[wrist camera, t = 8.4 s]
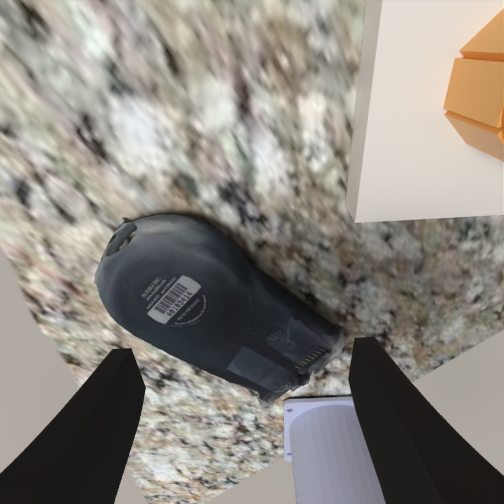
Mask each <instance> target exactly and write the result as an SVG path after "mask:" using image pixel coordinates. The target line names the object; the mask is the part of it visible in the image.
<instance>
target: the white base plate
mask: <svg viewBox="0 0 504 504" xmlns="http://www.w3.org/2000/svg"><path fill="white" fill-rule="evenodd" d="M503 8H504V0H366V8H365V18H364V28H363V37H362V47H361V57H360V67H359V77H358V86H357V96H356V106H355V116H354V125H353V135H352V145H351V155H350V165H349V174H348V184H347V194H346V204H345V206H346V208H347V210H348V211H349V213H350V215H351V217H352V218H353V220H354V222H355V223H361V222H379V221H398V220H416V219H434V218H453V217H471V216H489V215H504V162H503V161H501V160H499V159H497V158H495V157H493V156H491V155H489V154H487V153H485V152H482V151H480V150H478V149H476V148H474V147H472V146H470V145H468V144H466V143H465V141H464V140H463V139H462V137H461V136H460V135H459V133H458V132H457V131H456V130H455V128H454V127H453V126H452V124H451V123H450V122H449V120H448V119H447V118H446V116H445V115H444V114H445V113H446V112H447V111H448V110H446V109H443V106H444V102H445V98H446V94H447V89H448V85H449V81H450V77H451V72H452V68H453V64H454V59H455V58H462V57H463V56H462V54H461V53H460V51H459V50H460V49H461V48H462V47H464V46H465V45H466V44H467V43H468V42H469V41H470V40H471V39H472V38H473V37H474V36H475V35H476V34H477V33H478V32H479V31H480V30H481V29H482V28H483V27H484V26H485V25H487V24H488V23H489V22H490V21H491V20H492V19H493V18H494V17H495V16H496V15H497V14H498V13H499V12H500V11H501V10H502V9H503Z"/></svg>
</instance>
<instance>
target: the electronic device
mask: <svg viewBox="0 0 504 504" xmlns="http://www.w3.org/2000/svg"><path fill="white" fill-rule="evenodd" d="M124 222H125V221H124V220H123V218H121V221H120V223H119V227H118V229H117V230H116V232H115V233H114V235H113V236H112V238H111V240H110V241H109V243H108V245H107V248H106V250H105V252H104V254H103V256H102V258H101V262H100V264H99V266H98V269H97V271H96V274H95V280H94V283H95V284H96V285H97V288H98V291H99V296H100V298H101V300H102V302H103V305H104V306H105V308H106V310H107V311H108V313H109V314H110V315H111V317H112V318H113V319H114V320H115V321H116V322H117V323H118V324H119V325H121V326H122V327H123V328H125V329H126V330H127V331H129V332H130V333H132V334H133V335H134V336H136V337H138V338H140V339H142V340H144V341H146V342H148V343H150V344H151V345H153V346H155V347H157V348H158V349H161V350H163V351H165V352H166V353H168V354H170V355H172V356H174V357H176V358H179V359H181V360H183V361H185V362H187V363H190V364H192V365H195V366H197V367H198V368H200V369H202V370H204V371H207V372H208V373H210V374H213V375H215V376H218V377H220V378H222V379H225V380H226V381H228V382H230V383H235V384H239V385H242V386H244V387H246V388H250V389H252V390H254V391H257V392H258V395H257V399H258V401H259V405H260V406H263V407H265V406H268V405H269V404H271V403H272V402H273V401H275V400H276V399H278V398H279V397H280V396H282V395H283V394H284V393H286V392H287V391H288V390H290V389H291V391H294V390H296V389H297V388H299V387H300V386H304V385H306V384H308V383H309V380H310V375H311V373H312V372H313V371H314V370H315V372H314V373H313V374H314V375H315V374H318V373H319V372H321V371H322V370H323V368H324V367H325V366H326V365H327V364H328V363H329V362H330V361H332V360H333V359H335V358H337V357H338V356H339V355H340V354H341V353H342V349H343V347H344V345H345V335H344V332H345V330H344V329H341V328H339V327H337V326H335V325H333V324H332V323H331V322H330V321H328V320H327V319H326V318H324V317H323V316H322V315H320V314H319V313H318V312H316V311H315V310H314V309H313V308H311V307H310V306H309V305H308V304H306V303H305V302H303V301H302V300H301V299H299V298H298V297H297V296H295V295H294V294H293V293H292V292H291V291H289V290H288V289H287V288H285V287H284V286H282V285H281V284H279V283H278V282H277V281H276V280H275V279H274V278H272V277H271V276H269V275H268V274H266V273H265V272H264V271H262V270H260V269H259V268H258V267H256V266H255V265H254V264H253V263H251V262H250V261H249V260H248V259H247V258H246V257H245V256H244V255H243V254H242V253H241V251H240V249H239V248H238V247H237V246H236V245H235V243H234V241H232V240H230V239H229V238H227V237H226V236H225V235H224V234H223V233H222V232H221V231H220V230H218V229H217V228H215V227H214V226H212V225H210V224H208V223H206V222H204V221H202V220H199V219H196V218H192V217H189V216H182V215H175V214H160V215H155V216H150V217H145V218H141V219H138V220H136V221H133V222H129V223H124ZM135 230H137V231H136V233H135V235H134V237H133V239H132V240H131V241H130V243H129V244H128V245H127V246H126V247H124V248H123V249H121V250H120V251H119V248H120V246H121V245H122V244H123V243H124V240H125V239H126V238H127V237H128V236H129V235H130V234H131V233H132V232H134V231H135Z"/></svg>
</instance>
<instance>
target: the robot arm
mask: <svg viewBox="0 0 504 504" xmlns="http://www.w3.org/2000/svg"><path fill="white" fill-rule="evenodd" d="M348 380H349V384H350V389H351V394H352V397H329V398H305V399H288V400H285V401H284V459H285V461H288V462H292V465H293V476H294V485H295V495H296V504H504V476H503V475H502V474H501V473H500V472H499V471H498V470H497V469H495V468H494V467H493V466H492V465H491V464H490V463H489V462H488V461H487V460H486V459H484V457H482V456H481V455H480V454H479V453H478V452H477V451H476V450H475V449H474V448H473V447H472V446H471V445H470V444H469V443H468V442H467V441H465V439H464V438H463V437H462V436H461V435H460V434H459V433H458V432H456V430H454V428H453V427H452V426H451V425H450V424H449V423H448V422H447V421H446V420H445V419H444V418H443V417H442V416H441V415H440V414H439V413H438V412H437V411H436V409H434V407H433V406H432V405H431V404H430V403H429V402H428V401H427V400H426V398H425V397H424V396H423V395H422V394H421V393H420V392H419V390H418V389H417V388H416V387H415V386H414V385H413V384H412V383H411V381H410V380H409V379H408V378H407V377H406V375H405V374H404V373H403V372H402V371H401V369H400V368H399V367H398V366H397V365H396V363H395V362H394V361H393V360H392V358H391V357H390V356H389V354H388V353H387V352H386V351H385V349H384V348H383V347H382V346H381V344H380V343H379V342H378V340H377V339H376V338H375V337H363V338H355V339H354V346H353V352H352V358H351V365H350V371H349V378H348ZM145 389H146V387H145V384H144V381H143V379H142V376H141V373H140V371H139V368H138V365H137V362H136V360H135V357H134V354H133V352H132V349H131V348H126V349H112V350H111V351H110V353H109V354H108V355H107V356H106V357H105V359H104V360H103V361H102V362H101V363H100V365H99V366H98V367H97V368H96V370H95V371H94V372H93V373H92V374H91V376H90V377H89V378H88V379H87V380H86V382H85V383H84V384H83V385H82V386H81V388H80V389H79V390H78V391H77V392H76V394H75V395H74V396H73V397H72V398H71V399H70V400H69V402H68V403H67V404H66V405H65V406H64V407H63V409H62V410H61V411H60V412H59V413H58V414H57V415H56V417H55V418H54V419H53V420H52V421H51V422H50V423H49V424H48V425H47V426H46V427H45V428H44V430H43V431H42V432H41V433H40V434H39V435H38V436H37V437H36V438H35V439H34V440H33V441H32V442H31V443H30V445H29V446H28V447H27V448H26V449H25V450H24V451H23V452H22V453H21V454H20V455H19V456H18V457H17V458H16V459H15V460H14V461H13V462H12V463H11V464H10V465H9V466H8V467H7V468H6V469H5V470H3V472H1V473H0V504H114V502H115V498H116V495H117V492H118V488H119V485H120V482H121V479H122V476H123V473H124V469H125V466H126V463H127V460H128V457H129V453H130V450H131V447H132V444H133V441H134V437H135V434H136V431H137V427H138V424H139V421H140V416H141V411H142V406H143V401H144V395H145Z"/></svg>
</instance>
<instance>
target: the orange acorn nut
mask: <svg viewBox="0 0 504 504" xmlns="http://www.w3.org/2000/svg"><path fill="white" fill-rule="evenodd" d="M459 51H460V53H461V54H462V56H463V57H462V58H455V59H454V64H453V68H452V72H451V77H450V81H449V85H448V89H447V94H446V98H445V102H444V106H443V109H446V110H448V111H447V112H446V113H445V114H444V115H445V116H446V118H447V119H448V120H449V122H450V123H451V124H452V126H453V127H454V128H455V130H456V131H457V132H458V133H459V135H460V136H461V137H462V139H463V140H464V141H465V143H466V144H468V145H470V146H472V147H474V148H476V149H478V150H480V151H482V152H485V153H487V154H489V155H491V156H493V157H495V158H497V159H499V160H501V161H503V162H504V8H503V9H502V10H501V11H500V12H499V13H498V14H497V15H496V16H495V17H494V18H493V19H492V20H491V21H490V22H489V23H488V24H487V25H485V26H484V27H483V28H482V29H481V30H480V31H479V32H478V33H477V34H476V35H475V36H474V37H473V38H472V39H471V40H470V41H469V42H468V43H467V44H466V45H465V46H464V47H462V48H461V49H460V50H459Z"/></svg>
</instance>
